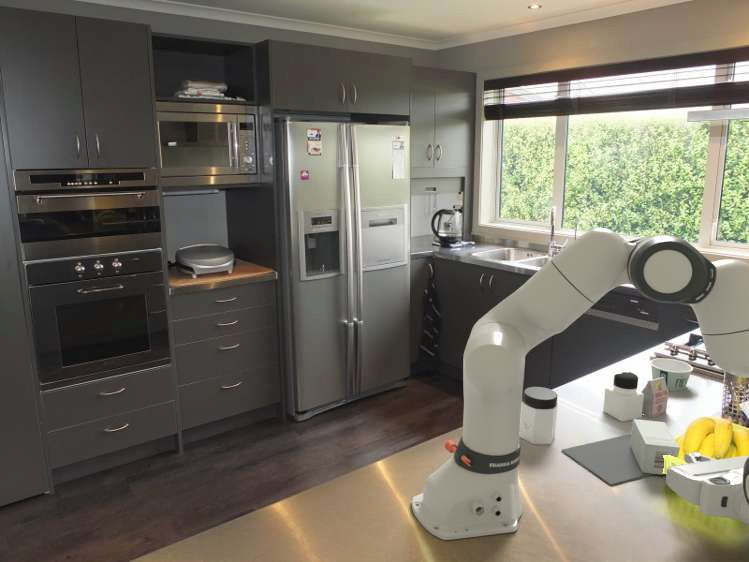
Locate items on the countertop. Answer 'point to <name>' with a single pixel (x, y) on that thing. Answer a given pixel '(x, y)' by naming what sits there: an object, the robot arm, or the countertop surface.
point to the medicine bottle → (624, 397)
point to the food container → (671, 372)
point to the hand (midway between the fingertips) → (690, 456)
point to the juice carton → (655, 397)
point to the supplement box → (652, 445)
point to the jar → (538, 415)
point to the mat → (608, 459)
